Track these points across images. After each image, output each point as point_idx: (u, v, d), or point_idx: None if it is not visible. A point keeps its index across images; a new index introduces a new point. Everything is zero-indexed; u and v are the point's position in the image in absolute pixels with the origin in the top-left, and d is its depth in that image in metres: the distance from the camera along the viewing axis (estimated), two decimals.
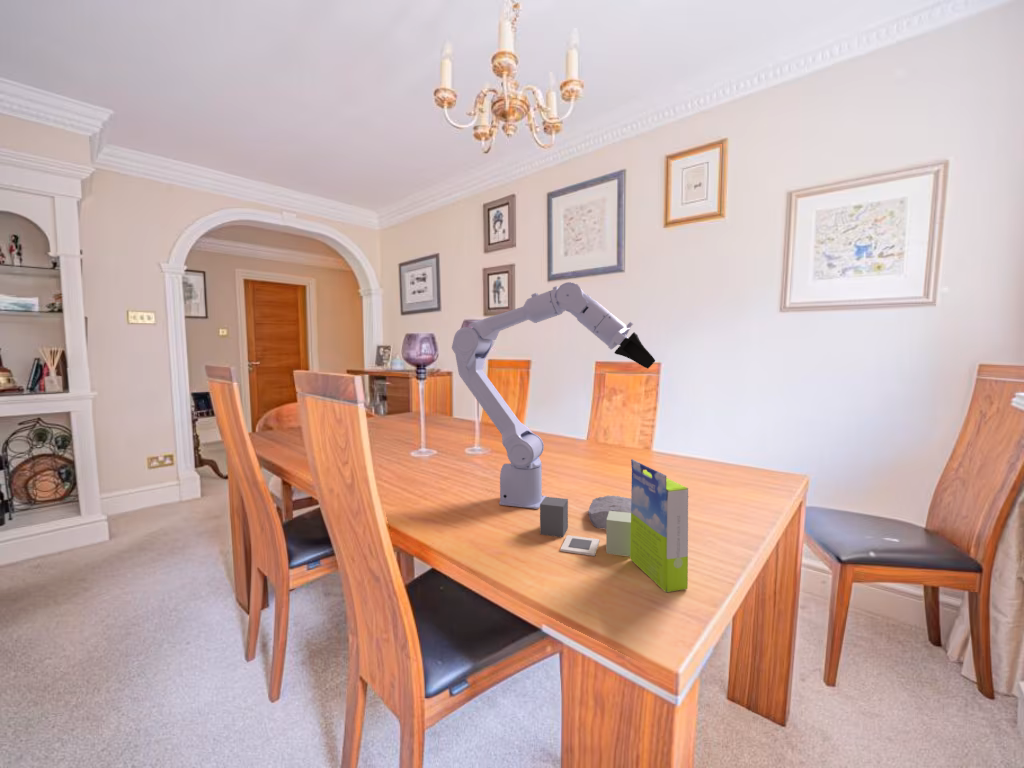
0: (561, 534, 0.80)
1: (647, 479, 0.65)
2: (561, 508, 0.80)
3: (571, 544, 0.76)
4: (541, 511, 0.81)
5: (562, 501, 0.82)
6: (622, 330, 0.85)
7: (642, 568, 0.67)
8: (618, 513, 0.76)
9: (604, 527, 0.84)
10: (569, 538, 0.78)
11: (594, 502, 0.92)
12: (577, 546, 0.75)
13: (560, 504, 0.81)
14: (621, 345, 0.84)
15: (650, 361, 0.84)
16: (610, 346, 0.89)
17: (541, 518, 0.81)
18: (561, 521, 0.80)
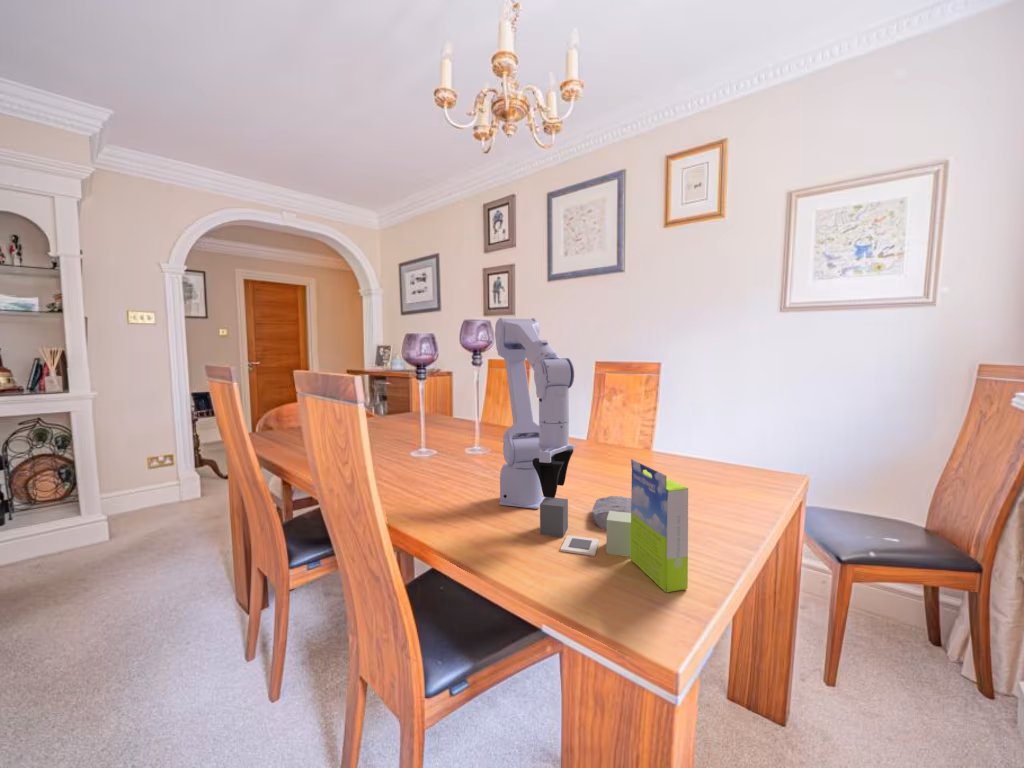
0: (561, 534, 0.80)
1: (647, 479, 0.65)
2: (561, 508, 0.80)
3: (571, 544, 0.76)
4: (541, 511, 0.81)
5: (562, 501, 0.82)
6: (556, 451, 0.77)
7: (642, 568, 0.67)
8: (618, 513, 0.76)
9: None
10: (569, 538, 0.78)
11: (597, 502, 0.92)
12: (577, 546, 0.75)
13: (560, 504, 0.81)
14: (542, 463, 0.76)
15: (550, 494, 0.78)
16: (538, 447, 0.81)
17: (541, 518, 0.81)
18: (561, 521, 0.80)
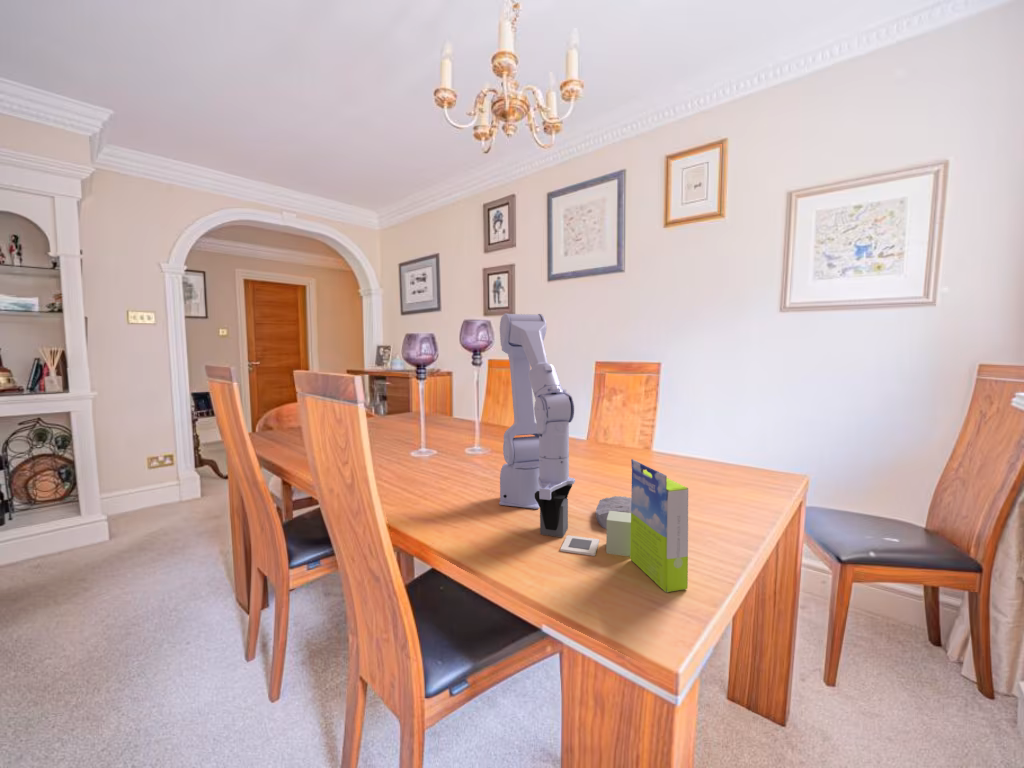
0: (561, 534, 0.80)
1: (647, 479, 0.65)
2: (561, 508, 0.80)
3: (571, 544, 0.76)
4: None
5: None
6: (556, 487, 0.77)
7: (642, 568, 0.67)
8: (618, 513, 0.76)
9: None
10: (569, 538, 0.78)
11: (601, 503, 0.91)
12: (577, 546, 0.75)
13: None
14: None
15: (552, 526, 0.80)
16: (538, 481, 0.81)
17: (541, 518, 0.81)
18: (561, 521, 0.80)
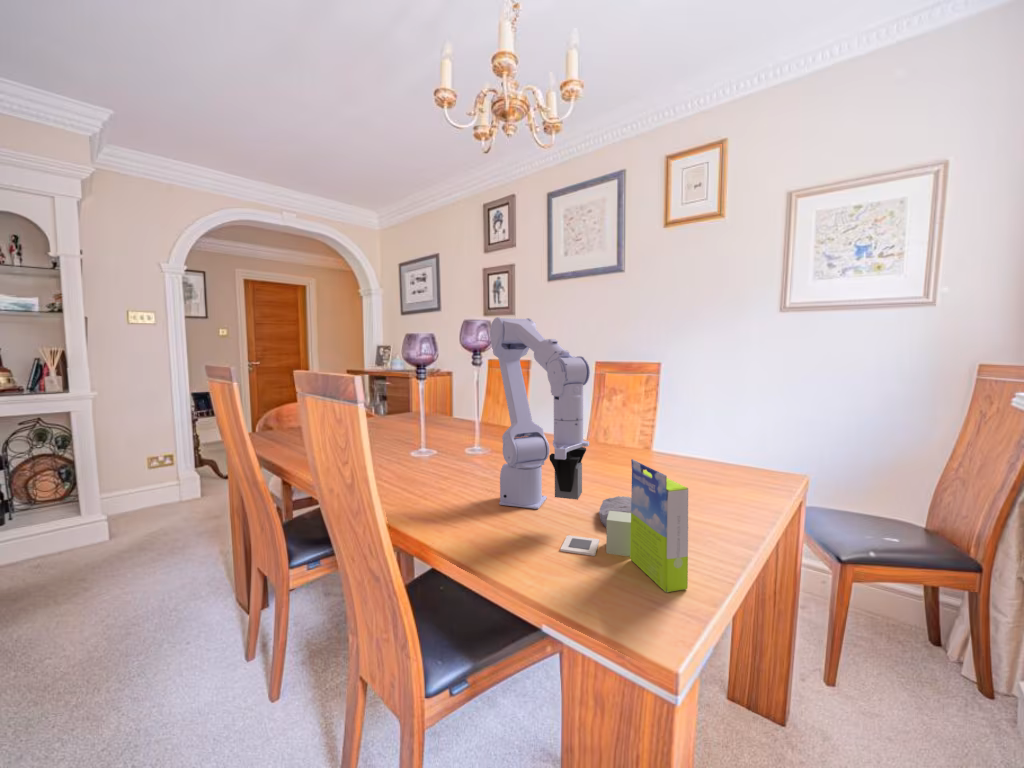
0: (576, 496, 0.81)
1: (647, 479, 0.65)
2: (576, 470, 0.80)
3: (571, 544, 0.76)
4: None
5: None
6: (571, 448, 0.78)
7: (642, 568, 0.67)
8: (618, 513, 0.76)
9: None
10: (569, 538, 0.78)
11: (604, 503, 0.91)
12: (577, 546, 0.75)
13: None
14: None
15: (567, 488, 0.80)
16: (553, 444, 0.82)
17: (556, 481, 0.82)
18: (576, 483, 0.80)
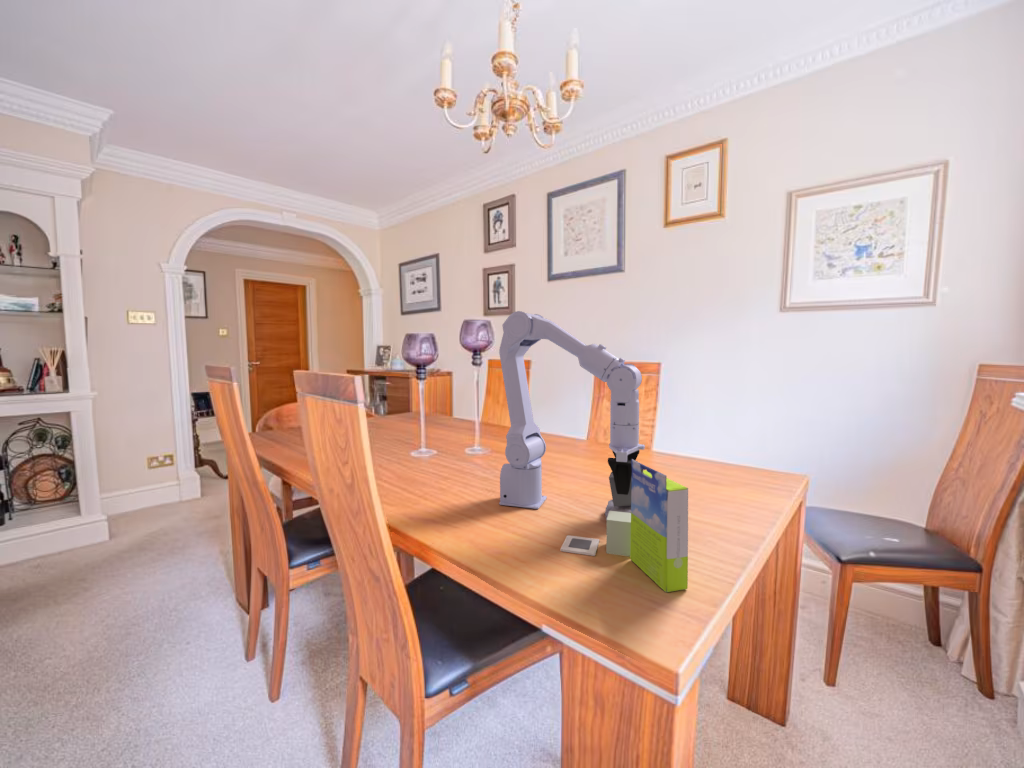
0: None
1: (647, 479, 0.65)
2: None
3: (571, 544, 0.76)
4: (611, 484, 0.86)
5: None
6: (631, 451, 0.82)
7: (642, 568, 0.67)
8: (618, 513, 0.76)
9: None
10: (569, 538, 0.78)
11: (610, 504, 0.91)
12: (577, 546, 0.75)
13: None
14: (617, 462, 0.82)
15: (624, 491, 0.84)
16: (610, 447, 0.86)
17: (612, 491, 0.86)
18: None
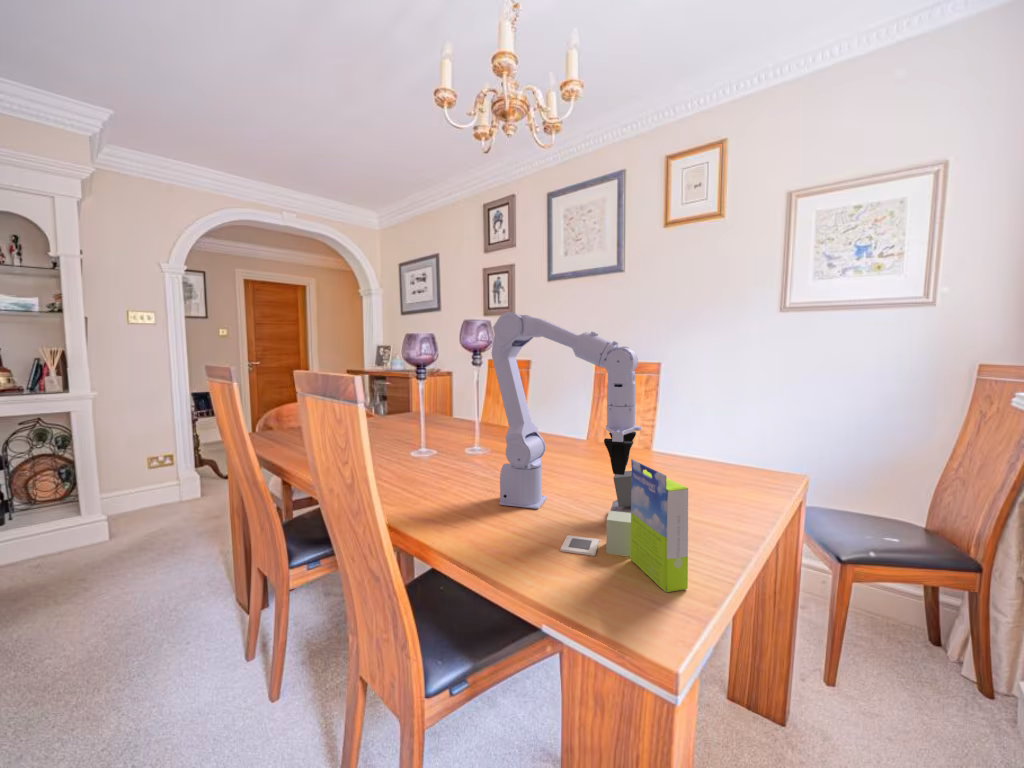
0: None
1: (647, 479, 0.65)
2: None
3: (571, 544, 0.76)
4: (616, 484, 0.86)
5: None
6: (627, 431, 0.83)
7: (642, 568, 0.67)
8: (618, 513, 0.76)
9: None
10: (569, 538, 0.78)
11: (615, 504, 0.91)
12: (577, 546, 0.75)
13: None
14: (614, 442, 0.83)
15: (620, 471, 0.85)
16: (607, 428, 0.87)
17: (617, 491, 0.86)
18: None
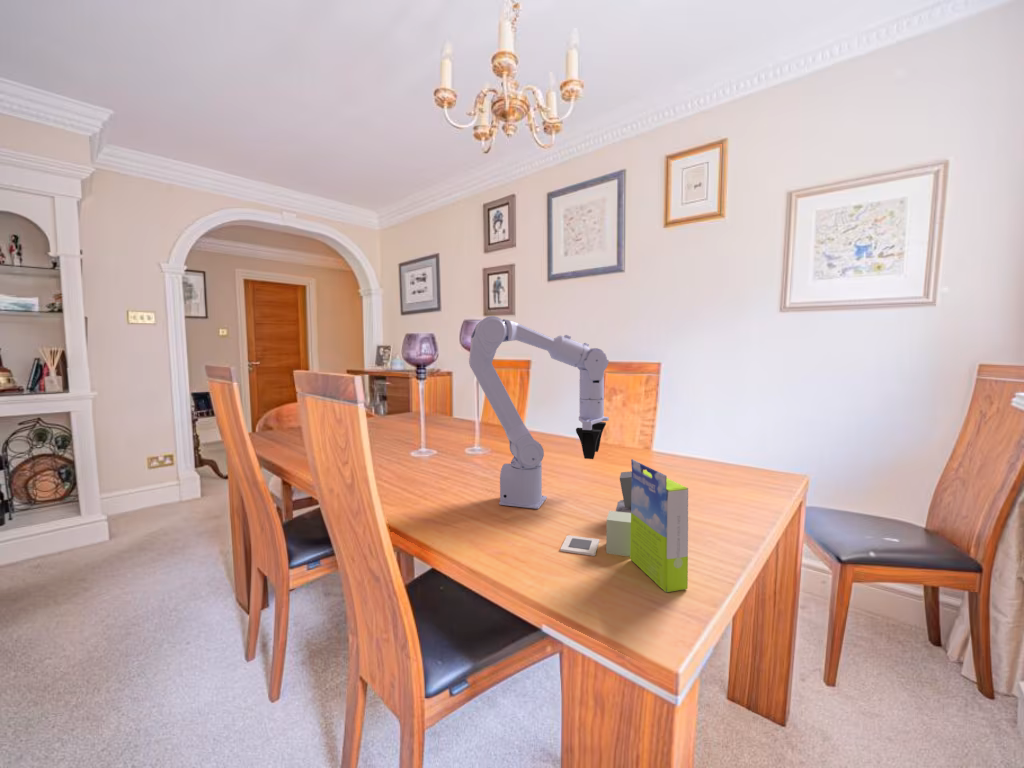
0: None
1: (647, 479, 0.65)
2: None
3: (571, 544, 0.76)
4: (622, 485, 0.86)
5: None
6: (595, 421, 0.96)
7: (642, 568, 0.67)
8: (618, 513, 0.76)
9: None
10: (569, 538, 0.78)
11: (620, 504, 0.91)
12: (577, 546, 0.75)
13: None
14: (584, 430, 0.96)
15: (590, 456, 0.97)
16: (579, 419, 1.00)
17: (623, 491, 0.86)
18: None
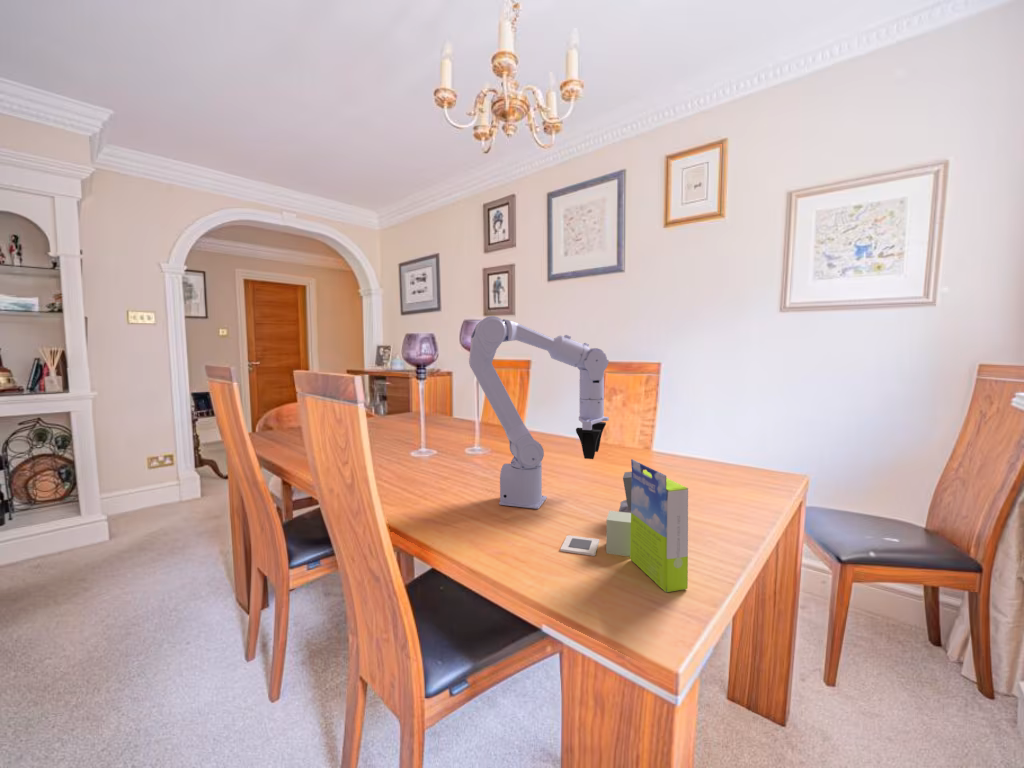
0: None
1: (647, 479, 0.65)
2: None
3: (571, 544, 0.76)
4: (625, 484, 0.86)
5: None
6: (595, 421, 0.96)
7: (642, 568, 0.67)
8: (618, 513, 0.76)
9: None
10: (569, 538, 0.78)
11: (623, 505, 0.90)
12: (577, 546, 0.75)
13: None
14: (584, 430, 0.96)
15: (590, 456, 0.97)
16: (579, 419, 1.00)
17: (626, 491, 0.86)
18: None
